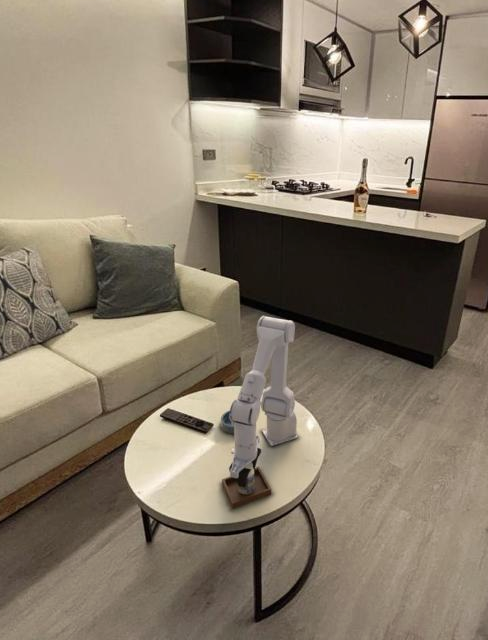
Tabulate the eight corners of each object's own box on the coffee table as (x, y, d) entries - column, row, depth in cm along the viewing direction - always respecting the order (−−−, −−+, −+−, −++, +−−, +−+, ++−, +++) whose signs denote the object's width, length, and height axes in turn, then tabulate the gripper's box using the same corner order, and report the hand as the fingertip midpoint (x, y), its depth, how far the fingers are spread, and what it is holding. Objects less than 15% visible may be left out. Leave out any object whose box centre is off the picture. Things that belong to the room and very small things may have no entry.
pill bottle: (251, 496, 112) (250, 473, 108) (235, 493, 112) (234, 470, 109) (256, 483, 116) (256, 460, 113) (240, 480, 117) (240, 457, 114)
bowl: (243, 413, 145) (243, 406, 144) (252, 429, 138) (252, 422, 136) (218, 420, 141) (217, 413, 140) (226, 437, 134) (225, 430, 132)
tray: (258, 471, 121) (258, 466, 120) (271, 494, 113) (271, 489, 112) (222, 484, 116) (221, 479, 115) (232, 509, 108) (232, 503, 107)
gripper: (243, 419, 115) (244, 456, 120) (218, 454, 102) (220, 494, 107) (266, 425, 113) (266, 462, 119) (244, 461, 100) (245, 502, 106)
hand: (246, 478), depth 113 cm, fingers closed on pill bottle, 5 cm apart
